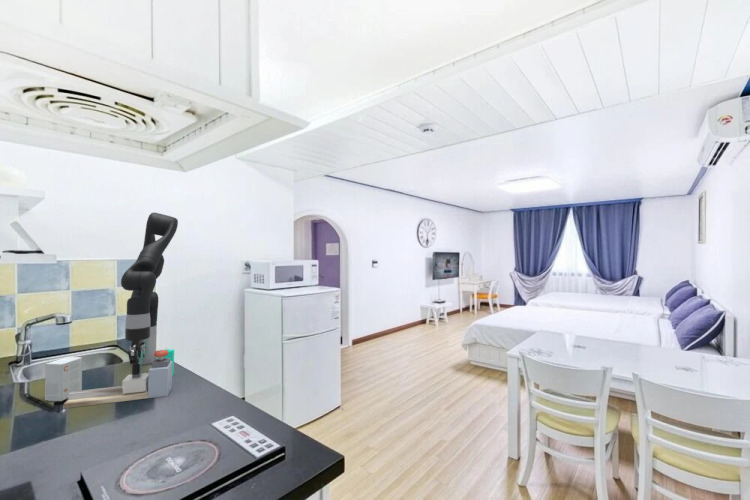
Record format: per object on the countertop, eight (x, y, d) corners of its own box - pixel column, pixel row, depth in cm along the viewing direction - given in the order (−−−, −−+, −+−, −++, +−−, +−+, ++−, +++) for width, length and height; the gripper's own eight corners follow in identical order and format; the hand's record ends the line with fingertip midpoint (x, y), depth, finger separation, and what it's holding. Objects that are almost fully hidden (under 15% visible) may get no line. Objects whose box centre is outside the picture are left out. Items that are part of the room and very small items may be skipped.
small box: (66, 391, 127) (67, 356, 128) (82, 392, 127) (83, 357, 127) (43, 400, 119) (44, 363, 120) (61, 401, 119) (61, 364, 119)
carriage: (128, 387, 127) (128, 353, 127) (150, 384, 130) (150, 351, 130) (122, 394, 120) (122, 358, 121) (145, 391, 123) (146, 356, 123)
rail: (75, 397, 122) (75, 388, 122) (154, 388, 131) (154, 379, 131) (63, 408, 114) (63, 397, 114) (148, 398, 123) (148, 388, 123)
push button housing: (154, 388, 131) (154, 357, 131) (171, 386, 133) (172, 355, 133) (148, 398, 123) (148, 364, 123) (167, 395, 125) (168, 362, 125)
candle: (176, 374, 146) (177, 346, 146) (161, 378, 141) (162, 349, 141) (169, 372, 149) (169, 344, 150) (154, 376, 144) (154, 347, 145)
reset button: (155, 359, 129) (155, 350, 129) (169, 358, 131) (169, 349, 131) (152, 363, 125) (153, 353, 125) (166, 361, 127) (166, 352, 127)
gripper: (145, 329, 120) (144, 378, 120) (154, 321, 133) (153, 366, 133) (119, 330, 118) (118, 381, 117) (131, 322, 130) (130, 368, 130)
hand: (137, 372), depth 125 cm, fingers closed on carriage, 2 cm apart
